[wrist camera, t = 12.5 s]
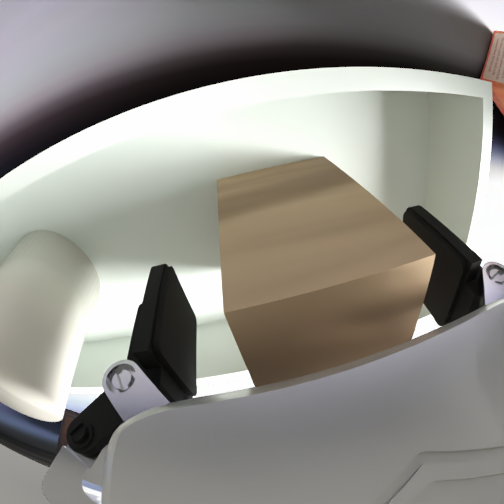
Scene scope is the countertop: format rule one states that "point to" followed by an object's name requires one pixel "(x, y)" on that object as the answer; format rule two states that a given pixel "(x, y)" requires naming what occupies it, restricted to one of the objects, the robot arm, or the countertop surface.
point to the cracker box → (495, 69)
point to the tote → (233, 163)
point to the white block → (43, 321)
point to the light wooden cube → (314, 270)
